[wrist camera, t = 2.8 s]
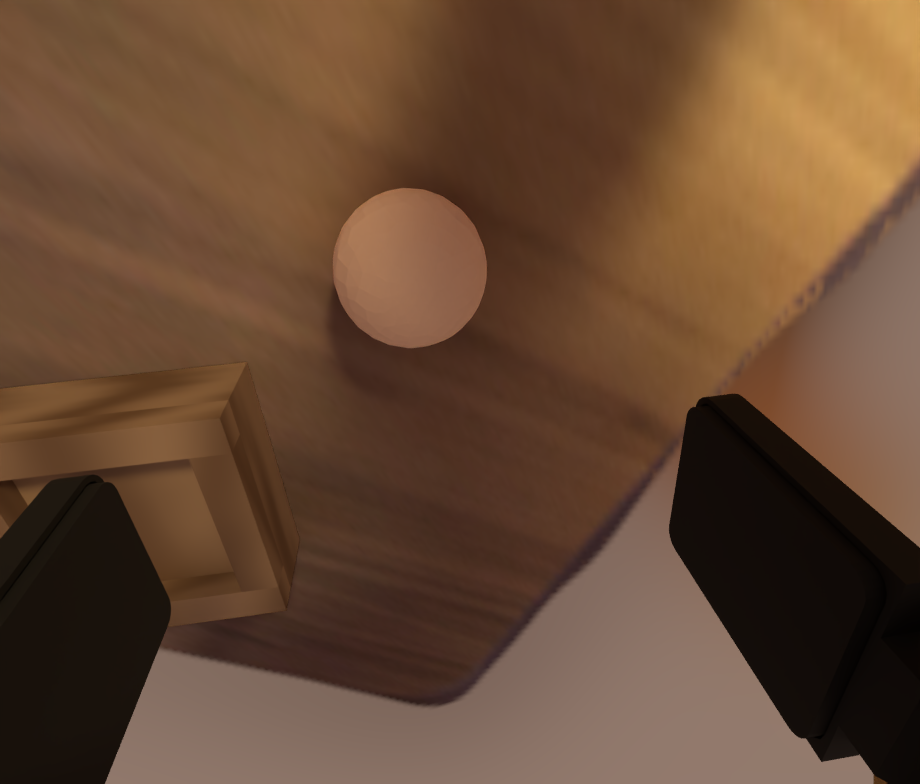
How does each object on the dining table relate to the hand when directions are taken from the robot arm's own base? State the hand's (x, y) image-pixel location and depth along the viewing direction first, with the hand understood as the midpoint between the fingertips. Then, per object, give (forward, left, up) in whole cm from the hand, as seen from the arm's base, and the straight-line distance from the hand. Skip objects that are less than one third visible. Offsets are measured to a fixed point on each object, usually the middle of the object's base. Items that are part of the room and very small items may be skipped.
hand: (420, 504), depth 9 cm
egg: (0, -1, -14) cm, 14 cm away
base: (+12, +8, -14) cm, 20 cm away
